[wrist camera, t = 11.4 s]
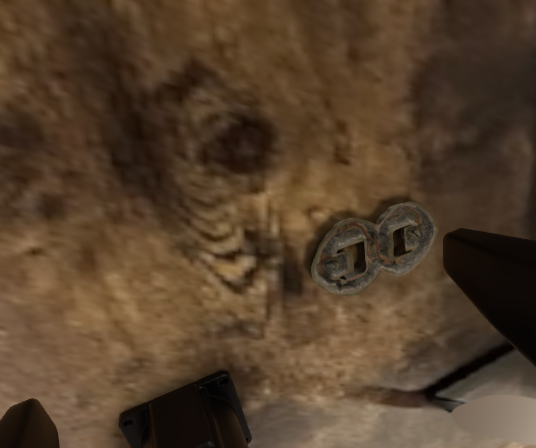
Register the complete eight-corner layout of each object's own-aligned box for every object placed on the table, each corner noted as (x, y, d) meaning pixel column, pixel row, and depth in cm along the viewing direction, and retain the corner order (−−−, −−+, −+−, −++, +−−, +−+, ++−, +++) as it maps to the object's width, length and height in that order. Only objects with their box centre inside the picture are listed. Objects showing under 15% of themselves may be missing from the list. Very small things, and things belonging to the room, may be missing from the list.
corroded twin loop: (427, 255, 27) (438, 263, 26) (310, 300, 25) (318, 311, 24) (427, 182, 25) (439, 188, 24) (298, 227, 23) (306, 235, 22)
